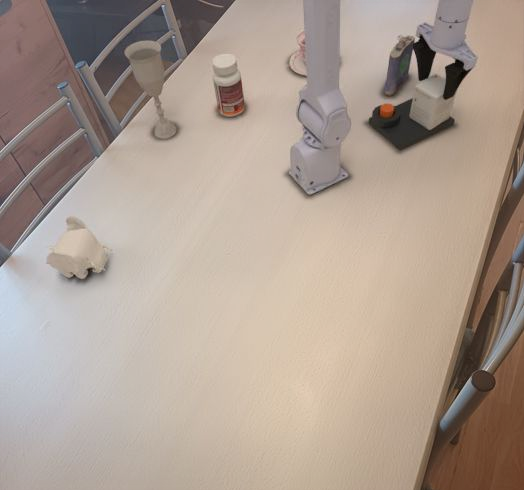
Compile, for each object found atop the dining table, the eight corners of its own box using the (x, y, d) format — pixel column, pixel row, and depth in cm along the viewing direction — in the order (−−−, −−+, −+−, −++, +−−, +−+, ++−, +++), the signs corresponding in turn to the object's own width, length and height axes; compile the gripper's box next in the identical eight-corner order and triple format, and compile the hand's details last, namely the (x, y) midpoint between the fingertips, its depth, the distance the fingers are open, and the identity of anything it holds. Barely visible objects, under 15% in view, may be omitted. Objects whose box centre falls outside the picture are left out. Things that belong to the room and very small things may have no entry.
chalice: (183, 121, 114) (164, 39, 99) (178, 141, 111) (157, 59, 95) (153, 121, 115) (128, 41, 99) (146, 141, 112) (120, 60, 96)
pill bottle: (250, 108, 115) (245, 58, 105) (230, 121, 113) (223, 72, 103) (232, 97, 117) (225, 48, 107) (212, 110, 115) (204, 61, 105)
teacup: (281, 58, 124) (279, 32, 118) (323, 43, 125) (324, 17, 120) (303, 83, 118) (303, 56, 112) (347, 67, 119) (349, 40, 114)
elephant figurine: (107, 290, 91) (89, 258, 83) (48, 284, 93) (24, 252, 85) (124, 250, 95) (108, 216, 88) (67, 245, 97) (46, 211, 90)
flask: (392, 98, 112) (399, 49, 103) (380, 94, 113) (386, 46, 104) (410, 76, 116) (418, 27, 107) (398, 73, 117) (406, 24, 108)
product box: (408, 117, 106) (414, 84, 100) (428, 105, 108) (436, 72, 101) (429, 131, 103) (437, 98, 97) (450, 118, 105) (459, 85, 99)
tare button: (384, 120, 105) (385, 113, 103) (376, 113, 106) (377, 106, 105) (395, 115, 105) (396, 108, 104) (387, 108, 106) (388, 101, 105)
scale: (398, 151, 103) (400, 139, 101) (366, 123, 109) (367, 110, 106) (453, 125, 106) (456, 112, 103) (419, 99, 111) (421, 86, 109)
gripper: (499, 24, 85) (476, 98, 97) (443, -9, 92) (428, 64, 104) (467, 38, 84) (447, 111, 96) (412, 3, 91) (400, 76, 103)
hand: (435, 88), depth 100 cm, fingers open, 7 cm apart
